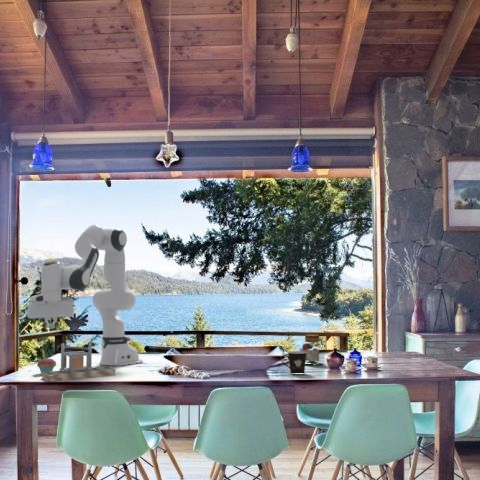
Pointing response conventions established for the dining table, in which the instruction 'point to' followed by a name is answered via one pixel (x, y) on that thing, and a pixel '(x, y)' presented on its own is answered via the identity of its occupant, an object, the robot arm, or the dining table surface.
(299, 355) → the coffee mug
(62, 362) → the sled
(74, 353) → the tunnel
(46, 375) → the board
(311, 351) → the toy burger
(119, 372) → the dining table surface
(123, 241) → the robot arm
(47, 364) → the cupcake
